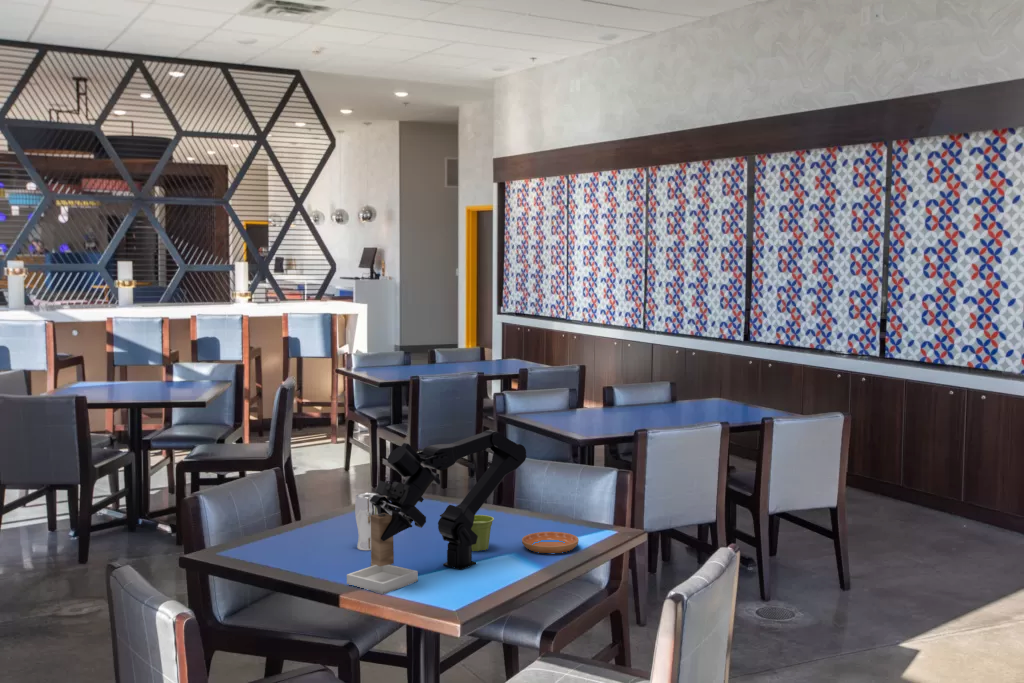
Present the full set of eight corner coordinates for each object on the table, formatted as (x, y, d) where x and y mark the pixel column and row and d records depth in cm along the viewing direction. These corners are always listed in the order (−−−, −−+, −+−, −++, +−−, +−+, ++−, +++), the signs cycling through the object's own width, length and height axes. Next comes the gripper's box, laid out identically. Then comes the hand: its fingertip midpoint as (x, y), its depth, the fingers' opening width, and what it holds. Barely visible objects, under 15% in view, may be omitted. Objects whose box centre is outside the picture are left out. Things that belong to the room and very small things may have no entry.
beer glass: (380, 550, 268) (380, 497, 267) (355, 551, 267) (354, 498, 266) (380, 543, 275) (379, 492, 274) (355, 544, 273) (354, 493, 273)
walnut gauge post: (385, 559, 241) (384, 511, 240) (393, 563, 238) (392, 514, 237) (371, 562, 238) (370, 514, 238) (379, 566, 235) (378, 517, 234)
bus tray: (382, 572, 247) (381, 562, 247) (417, 581, 240) (417, 571, 239) (346, 584, 237) (346, 574, 237) (383, 594, 230) (382, 583, 229)
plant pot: (454, 551, 267) (454, 520, 266) (470, 543, 275) (470, 513, 275) (484, 555, 263) (484, 524, 262) (499, 546, 271) (499, 516, 271)
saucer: (512, 552, 266) (512, 541, 266) (537, 538, 281) (537, 528, 280) (564, 559, 259) (564, 548, 259) (587, 545, 273) (587, 535, 273)
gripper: (375, 463, 246) (338, 512, 240) (415, 474, 232) (376, 526, 226) (402, 489, 252) (366, 537, 246) (442, 501, 237) (405, 553, 231)
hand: (377, 538), depth 237 cm, fingers closed on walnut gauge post, 4 cm apart
